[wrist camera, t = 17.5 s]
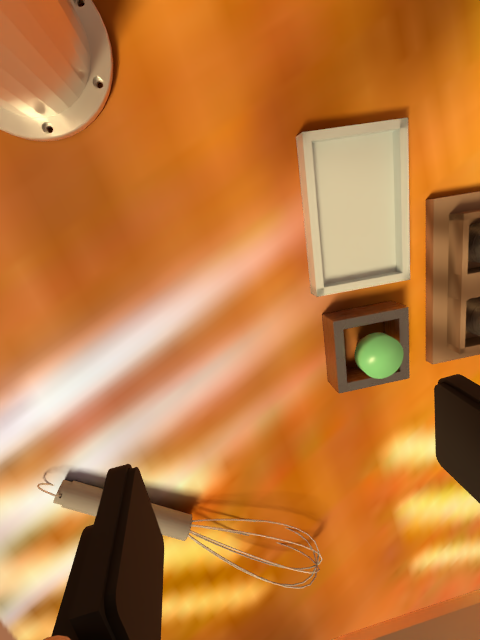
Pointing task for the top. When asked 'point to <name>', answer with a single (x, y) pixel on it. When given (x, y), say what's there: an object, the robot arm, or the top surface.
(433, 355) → the brown compartment tray
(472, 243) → the cylinder
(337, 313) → the open wooden box
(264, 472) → the top surface
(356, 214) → the tray
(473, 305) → the cylinder
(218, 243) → the top surface
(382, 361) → the button
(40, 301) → the top surface
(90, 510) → the kitchen whisk
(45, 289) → the top surface
